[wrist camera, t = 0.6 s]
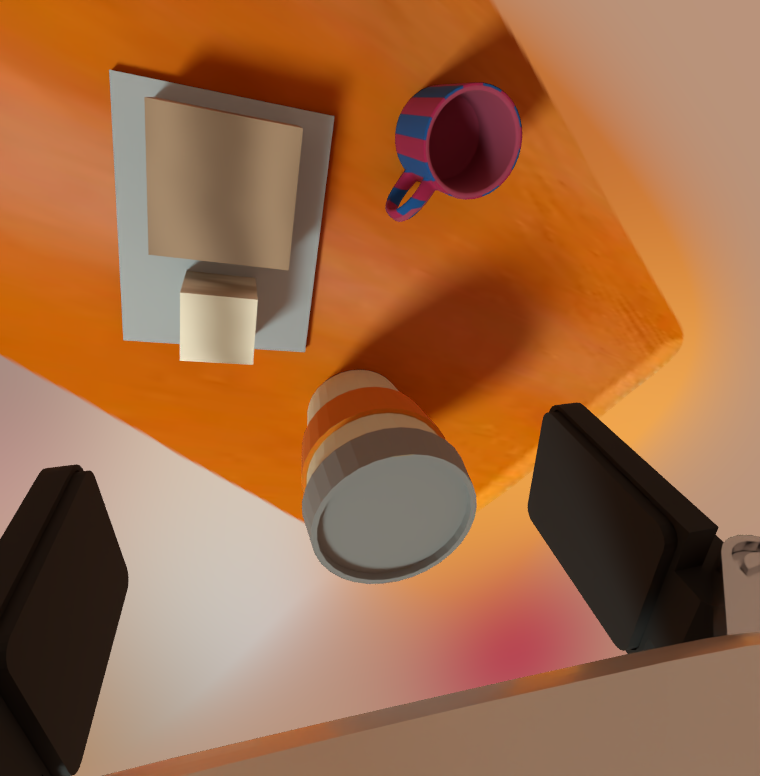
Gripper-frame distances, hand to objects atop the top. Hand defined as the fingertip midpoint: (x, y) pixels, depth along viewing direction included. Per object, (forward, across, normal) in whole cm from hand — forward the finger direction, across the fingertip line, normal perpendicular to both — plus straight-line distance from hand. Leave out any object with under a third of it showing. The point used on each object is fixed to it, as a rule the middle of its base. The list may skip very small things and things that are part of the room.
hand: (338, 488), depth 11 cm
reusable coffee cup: (+32, -5, +18) cm, 38 cm away
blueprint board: (+32, +4, +1) cm, 32 cm away
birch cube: (+31, +5, +6) cm, 32 cm away
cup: (+32, -11, -4) cm, 34 cm away
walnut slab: (+31, +4, -2) cm, 31 cm away
